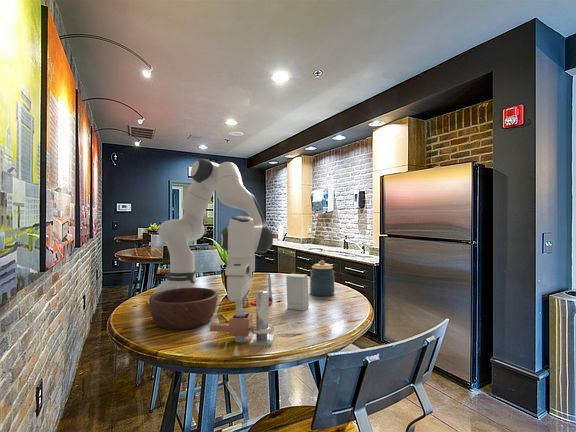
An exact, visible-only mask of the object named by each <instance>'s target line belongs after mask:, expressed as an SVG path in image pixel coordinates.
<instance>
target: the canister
mask: <svg viewBox="0 0 576 432" xmlns="http://www.w3.org/2000/svg"><path fill="white" fill-rule="evenodd" d="M311 268H312V269H310V271H309V273H310V277H309V278H310V279H309V281H310V282H309V283H310V284H309V293H310V295H312V296H314V297H315V296H316V297H331V296H334V294H335V290H336V289H335V275H334V274H335V273H336V272H335V270H333V268H334V266H332V265H331V264H330V263H326V262H325V260H323V259H322V260H320V261H319V263H314V264H313V265H312V266H311Z"/></svg>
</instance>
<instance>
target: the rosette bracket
mask: <svg viewBox="0 0 576 432" xmlns="http://www.w3.org/2000/svg"><path fill="white" fill-rule="evenodd" d="M255 295H256V296H255V299H256V302H255V303H256V305H255V307H256V310H255V313H256V314H255V318H256V319H255V324H253V313H252V312H247V318H235V312H233V313H232V315H231V316H230V317H229V319H228V323H223V322H222V323H220V322H219V323H218V322H216V323H215V322H212V323H211V324H210V325H209V331H210V332H216V333H218V332H219V333H222V332H223V333H229V334H228V335H229V337H235V336H242V337H247V338H249V336H250V335H251V334H253V335H252V336H251V338H250V341H249V346H261V347H262V346H263V347H264V346H265V347H267V346H268V347H272V346H273V342H274V339H275V334H272V333H274V331H275V326H274V325H273V324H271V323H269V321H270V319H269V317H270V316H269V315H270V313H269V311H270V309H269V307H270V305H269V290H262V289H261V290H257V291H256V294H255Z"/></svg>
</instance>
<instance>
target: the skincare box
mask: <svg viewBox="0 0 576 432" xmlns="http://www.w3.org/2000/svg"><path fill="white" fill-rule="evenodd" d="M285 277H286V278H285V279H286V280H285V281H286V305H287V306H286V307H287V308H286V309H288V310H295V311H302V312H303V311H305V310H307V309H309V306H310V305H309V304H310V303H309V285H308V284H309V283H308V281H309V279H308V274H303V273H302V274H300V273H290V274H287V275H286V276H285Z"/></svg>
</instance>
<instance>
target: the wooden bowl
mask: <svg viewBox="0 0 576 432" xmlns="http://www.w3.org/2000/svg"><path fill="white" fill-rule="evenodd" d="M148 300H149V304H148V305H149V309H150V310H149V311H150V316H151V317H152V320H153V322H154V323H155V325H156V326H157V327H160V328H161V327H162V329H165V328H166V329H165V330H174V329H177V330H187V329H192V328H193V329H194V328H197V327H200V326H204V325H205V324H207V323H208V322H210V320H211V319H212V318H213V316H214V314H215V311H216V308H217V304H218V303H217V302H218V292H217V291H216V290H215V289H211V288H205V287H196V288H177V289H170V290H165V291H161V292H158V293H155V294H153V293H152V295H151V296H149V298H148Z"/></svg>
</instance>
